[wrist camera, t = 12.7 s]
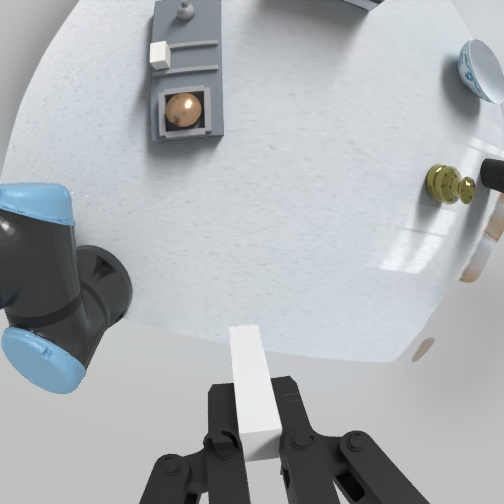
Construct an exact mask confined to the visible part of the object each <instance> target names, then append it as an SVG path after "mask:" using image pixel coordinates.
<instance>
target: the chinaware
mask: <svg viewBox="0 0 504 504" xmlns="http://www.w3.org/2000/svg"><path fill="white" fill-rule="evenodd" d="M457 68H458V73H459V75H460V78H461V79H462V81H463V82H464V84H465V85H467V86H468V87H469V88H470V89H471V90H472V91H473V92H474V93H475V94H476V95H477V96H479V97H480V98H482V99H484V100H486V101H488V102H491V103H494V104H501V103H502V102H503V101H504V75H503V72H502V69H501V67H500V64H499V62H498V60H497V58H496V56H495V55H494V53H493V52H492V50H491V49H490V48H489V47H488V46H487V45H486V44H485V43H484V42H483V41H481V40H479V39H472V40H470V41H468V42H467V43H466V44H465V45H464V46H463V47H462V49H461V51H460V55H459V62H458V64H457Z"/></svg>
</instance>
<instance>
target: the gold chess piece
mask: <svg viewBox="0 0 504 504" xmlns="http://www.w3.org/2000/svg"><path fill="white" fill-rule="evenodd" d="M426 185H427V191H428V193H429V195H430V196H431V198H433V199H434V200H437V201H439V202H443V203H445V204H447V205H452V204H454V203H456V202H457V201H458V199H459V198H460V199H461V201H462V202H463V203H464V204H470V203H471V202H472V201H473V199H474V197H475V192H476V187H475V183H474V180H473V179H472V178H471V177H465V178H463V180H462V177H461V174H460V172H459V171H458V170H457V169H456V168H455V167H452V166H446V165H440V164H437V165H434V166H433V167H432V168H431V169H430V170H429V172H428V175H427V180H426Z"/></svg>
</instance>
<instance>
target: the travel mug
mask: <svg viewBox="0 0 504 504" xmlns="http://www.w3.org/2000/svg"><path fill="white" fill-rule="evenodd" d="M481 179H482V182H483V184H484V185H485V186H486V187H488V188H491V189H494V190H497V191H499V192H502V193H504V161H501V160H495V159H485V160H484V161H483V163H482V166H481Z"/></svg>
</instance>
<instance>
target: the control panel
mask: <svg viewBox="0 0 504 504" xmlns="http://www.w3.org/2000/svg"><path fill="white" fill-rule="evenodd" d="M161 41H166V43H167V45H168V47H169V49H170V51H171V53H170V69H164V70H158V71H156V70H155V69H154V67H153V66H152V65H151V84H150V94H151V133H152V142H161V141H169V140H177V139H187V138H198V137H210V136H224V122H223V92H222V48H221V0H188V7H187V8H182V7H181V2H180V0H161V1H155V7H154V18H153V30H152V43H155V42H161ZM180 93H189V94H192V95H194V96H195V97H196V98H197V99H198V100H199V102H200V105H201V107H202V115H201V117H200V119H199V121H198V122H197V123H196V124H194V125H193V126H190V127H186V128H183V127H178V126H176V125H175V124H173V123H171V122H170V121H169V119H168V118H167V115H166V106H167V104H168V102H169V101H170V99H171V98H172V97H174V96H175V95H177V94H180Z"/></svg>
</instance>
